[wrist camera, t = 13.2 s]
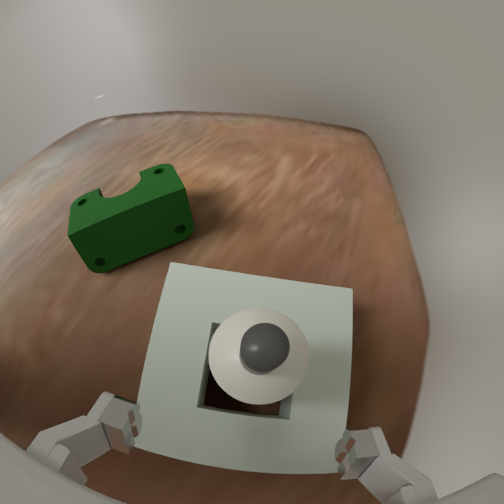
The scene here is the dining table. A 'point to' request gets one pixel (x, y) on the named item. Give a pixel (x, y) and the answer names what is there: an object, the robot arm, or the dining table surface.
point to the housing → (197, 371)
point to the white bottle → (258, 356)
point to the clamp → (131, 220)
